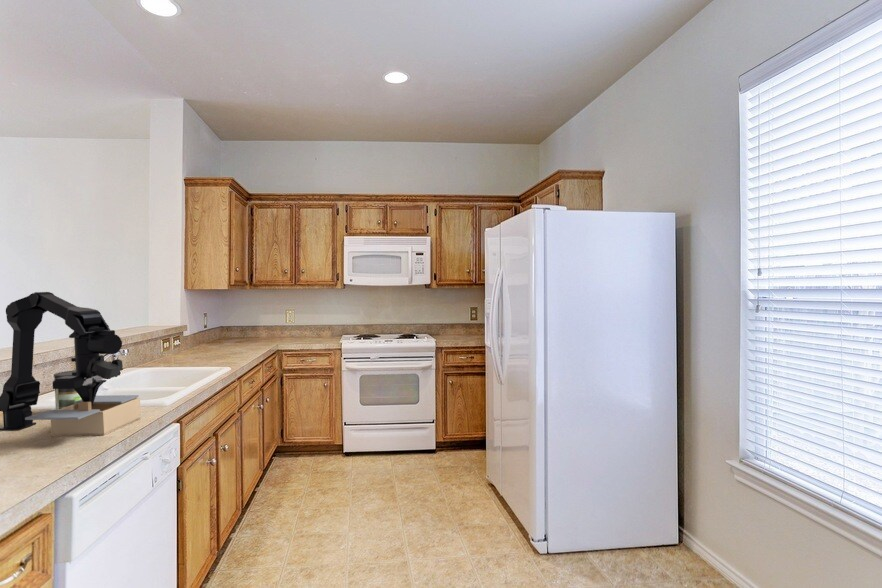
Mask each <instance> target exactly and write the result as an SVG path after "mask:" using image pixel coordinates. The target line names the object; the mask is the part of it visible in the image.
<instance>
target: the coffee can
mask: <svg viewBox="0 0 882 588" xmlns="http://www.w3.org/2000/svg"><path fill="white" fill-rule="evenodd" d="M72 372H76V369H74V370H67V371H60V372H56V373H54V374H53V378H54V379H53V381H54V380H55V379H56V378H60V377H64V376H72ZM54 397H55V401H54V402H55V410H58V409H61V408H64V407H68V406H71V405H74V402H75V401H78V400H81V397H80V396H79V394H78V393H77V392H76V391H75V390H74V388H73V389H54Z"/></svg>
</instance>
